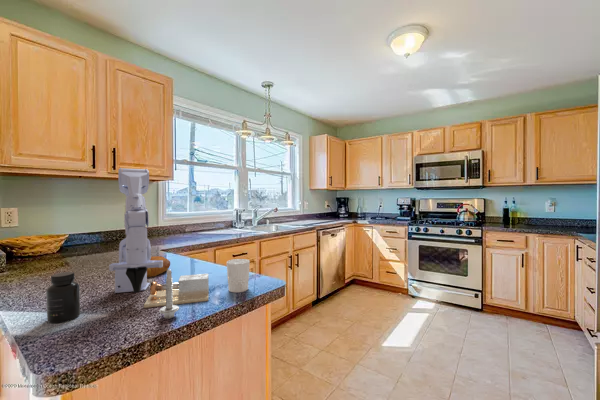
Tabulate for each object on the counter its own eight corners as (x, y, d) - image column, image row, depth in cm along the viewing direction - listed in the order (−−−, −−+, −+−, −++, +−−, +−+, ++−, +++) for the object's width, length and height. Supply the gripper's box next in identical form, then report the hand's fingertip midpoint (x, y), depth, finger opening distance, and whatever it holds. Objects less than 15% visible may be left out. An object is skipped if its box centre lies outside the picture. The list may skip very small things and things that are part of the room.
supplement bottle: (60, 313, 78) (59, 270, 78) (86, 312, 78) (85, 270, 78) (39, 324, 71) (38, 277, 71) (67, 323, 72) (67, 277, 72)
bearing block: (143, 307, 82) (143, 287, 82) (153, 292, 95) (153, 275, 95) (208, 300, 87) (208, 281, 87) (208, 287, 100) (208, 270, 100)
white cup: (253, 287, 100) (253, 259, 100) (242, 294, 93) (242, 264, 93) (234, 285, 103) (234, 258, 103) (222, 291, 95) (222, 262, 95)
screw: (173, 320, 73) (155, 320, 73) (182, 313, 78) (165, 312, 78) (173, 271, 73) (155, 271, 73) (182, 266, 78) (165, 266, 78)
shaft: (150, 296, 86) (149, 284, 86) (152, 292, 90) (152, 280, 90) (188, 292, 90) (188, 280, 90) (189, 289, 94) (189, 277, 94)
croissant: (175, 273, 128) (176, 255, 129) (156, 278, 112) (158, 258, 113) (144, 272, 128) (146, 254, 129) (122, 277, 113) (124, 257, 114)
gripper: (105, 252, 81) (105, 298, 81) (160, 249, 85) (160, 293, 86) (113, 248, 88) (113, 291, 88) (163, 245, 92) (164, 286, 92)
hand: (137, 291), depth 87 cm, fingers closed
